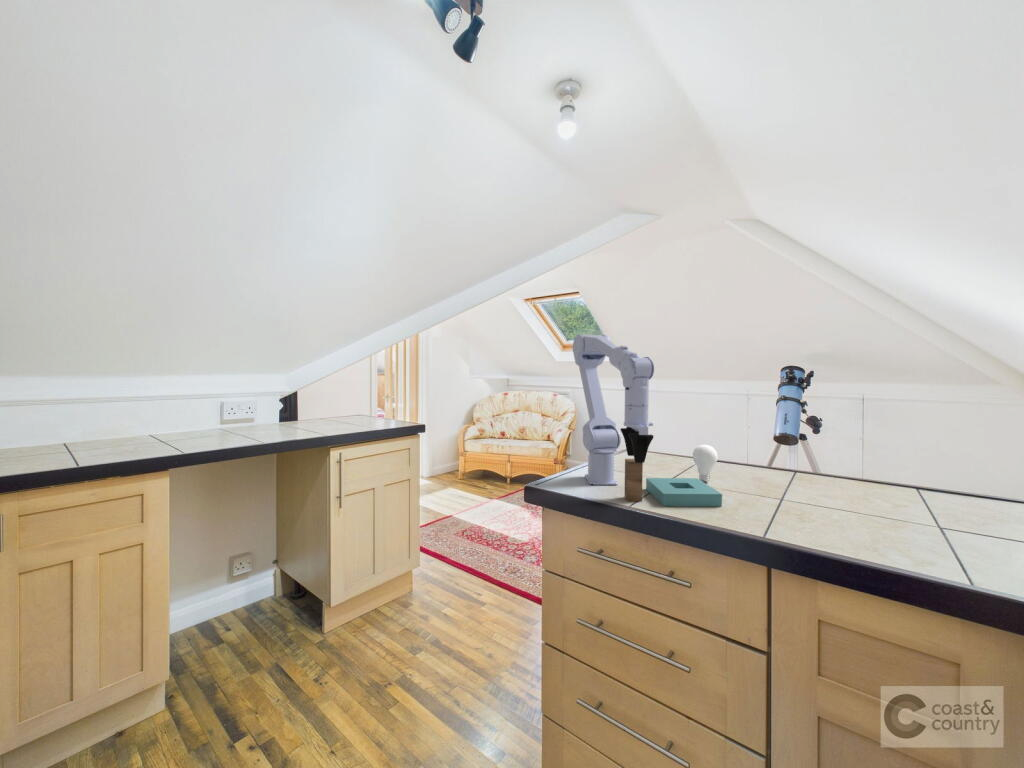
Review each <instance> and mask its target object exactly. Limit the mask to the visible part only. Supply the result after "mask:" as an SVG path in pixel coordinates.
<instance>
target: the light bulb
mask: <svg viewBox="0 0 1024 768" xmlns="http://www.w3.org/2000/svg"><path fill="white" fill-rule="evenodd" d="M718 457H719V456H718V452H717V451H716V449H715V448H714V447H713V446H711V445H709V444H699V445H697V446H696V447H695V448H694V449H693V451H692V460H693V462H694V463H695V465H696V467H697V472H698V474H699V475H698V479H699V480H701V481H702V482H704V483H707V482H709V481H710V479H711V474H712V469H713V467H714V466H715V465H716V463H717V461H718Z"/></svg>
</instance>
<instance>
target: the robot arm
mask: <svg viewBox="0 0 1024 768" xmlns="http://www.w3.org/2000/svg"><path fill="white" fill-rule="evenodd" d="M572 353H573V357H574V362H575V364H576V365H577V366H578V367H579V368H578V369H579V373H580V379H581V383H582V388H583V392H584V398H585V399H584V400H585V402H586V403H585V404H586V408H587V414H588V418H589V419H588V421H586V423H584V424H583V426H582V443H583V446H584V448H585V449H586V451H588V456H587V457H588V458H587V460H588V461H587V466H588V467H587V473H586V474H584V477H585V479H586V480H587V483H589V485H591V484H593V485H598V486H599V485H601V486H602V485H606V486H607V485H608V486H609V485H610V486H611V485H613V486H615V485H617V486H618V482H617V480H616V479H615V452H616V453H617V449H619V447H620V446H621V444H622V436H623V440H624V443H625V444H624V445H625V449H626V454H627V456H629V457H630V456H631V457H633V459H634V460H635V462H636V463H643V464H644V463H645V461H646V457H647V453H648V450H649V447H650V445H651V443H652V441H653V440H654V435H653V434H649V427H653V425H654V423H653V422H651V421H649V399H650V397H649V393H650V392H649V391H650V390H649V389H650V388H649V387H650V380H651V379H652V378H653V376H654V373H655V365H654V364H655V363H654V362H653V360H652V359H651V358H650V357H649V356H643V357H640V356H639V355H638V353H637V352H633V351H631V350H629V347H628V346H627V345H619V346H617V345H615V344H614V343H613V342H612V341H611V337H609V336H608V335H606V334H602V335H601V334H600V335H597V334H595V335H593V334H580V333H579V334H576V335H575V337H574V339H573V343H572ZM606 357H607V358H608V360H609V364H611V365H612V366H613V367H615V368H616V369H617V370H618V371H620V375H621V378H622V386H623V387H624V421H623V426H624V427H623V428H622V427H621V428H620V429H618V427H617V423H616V422H615V421H614V420H612V419H611V418H609V417H608V415H607V410H606V406H605V401H604V397H603V392H602V387H601V383H600V379H599V374H598V370H597V369H598V366H601V365H602V364H603V362H604V361H605V359H606ZM619 430H620V431H619ZM621 434H622V436H621Z"/></svg>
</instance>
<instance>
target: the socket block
mask: <svg viewBox="0 0 1024 768" xmlns="http://www.w3.org/2000/svg"><path fill="white" fill-rule="evenodd" d="M645 479H646V480H645V484H646V485H645V486H646V487H645V489H646V490H647V491H648V493H650V494H651V496H653V497H654V498H655V499H656V501H658V502H659V503H660V504H661V505H662V506H664V507H722V506H723V503H722V502H723V493H721V492H719V491H717V490H716V489H715V488H714V487H712V486H710V485H709V484H707V483H706V482H702V481H701V480H699V477H697V478H696V477H692V478H689V477H688V478H687V477H686V478H684V477H683V478H682V477H681V478H680V477H678V478H677V477H675V478H674V477H672V478H671V477H646V478H645Z"/></svg>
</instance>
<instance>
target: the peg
mask: <svg viewBox="0 0 1024 768" xmlns="http://www.w3.org/2000/svg"><path fill="white" fill-rule="evenodd" d="M643 467H644V463H636V462H635V460H634V458H625V459H624V495H623V497H624V498H625V499H627V500H628V501H627V500H626V501H627V502H639V501H642V502H643Z"/></svg>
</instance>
